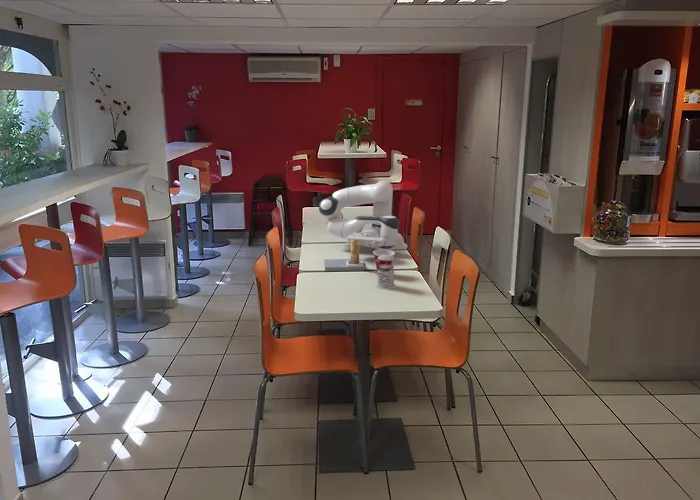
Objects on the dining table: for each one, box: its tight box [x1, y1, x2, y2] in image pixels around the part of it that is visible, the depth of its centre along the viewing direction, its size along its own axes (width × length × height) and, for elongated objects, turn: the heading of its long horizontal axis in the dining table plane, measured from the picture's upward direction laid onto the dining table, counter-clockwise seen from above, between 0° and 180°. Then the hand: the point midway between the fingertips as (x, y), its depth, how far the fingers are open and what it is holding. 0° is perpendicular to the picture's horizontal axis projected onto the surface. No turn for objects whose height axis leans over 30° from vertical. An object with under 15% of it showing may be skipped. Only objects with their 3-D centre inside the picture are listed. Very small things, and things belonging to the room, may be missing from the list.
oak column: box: [349, 239, 360, 264], centre depth 301 cm, size 4×4×13 cm
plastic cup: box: [372, 249, 396, 277], centre depth 289 cm, size 11×11×12 cm
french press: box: [372, 234, 397, 290], centre depth 270 cm, size 10×12×25 cm
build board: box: [323, 258, 365, 272], centre depth 305 cm, size 20×16×3 cm
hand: (361, 244), depth 310 cm, fingers open, 8 cm apart
